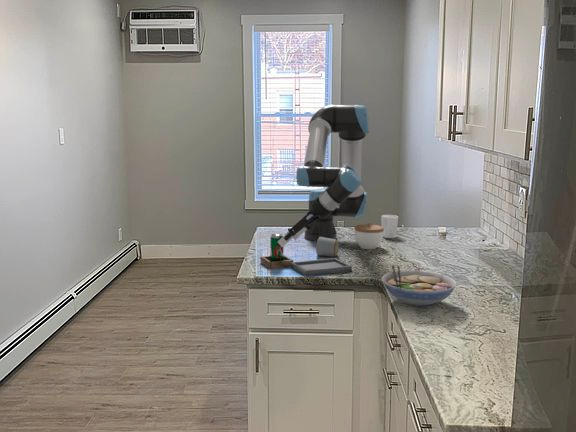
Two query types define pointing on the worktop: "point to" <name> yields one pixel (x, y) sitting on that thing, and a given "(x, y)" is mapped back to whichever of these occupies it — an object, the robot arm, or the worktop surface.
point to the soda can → (276, 248)
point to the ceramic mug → (327, 247)
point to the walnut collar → (276, 262)
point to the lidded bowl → (368, 235)
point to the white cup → (389, 225)
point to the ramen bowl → (418, 286)
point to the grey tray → (320, 267)
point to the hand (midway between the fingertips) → (286, 241)
